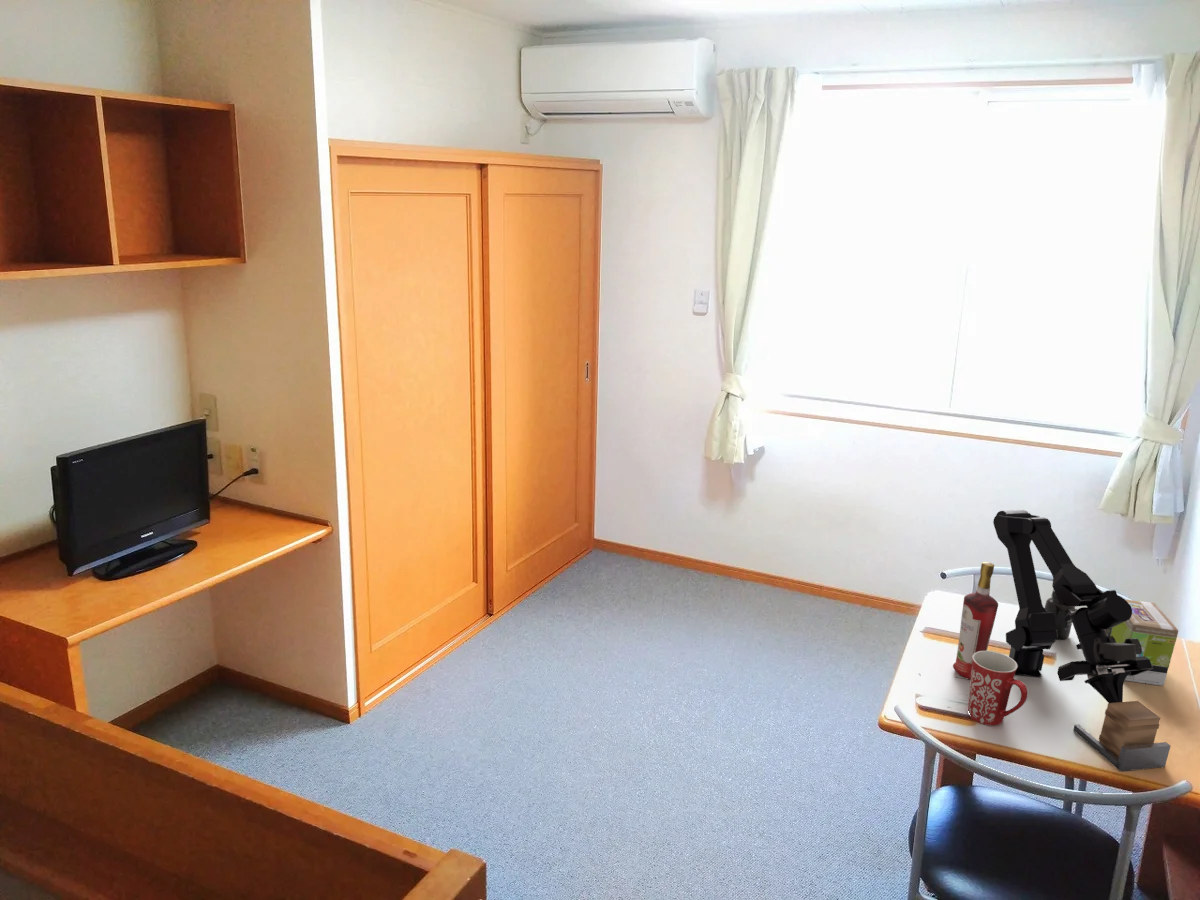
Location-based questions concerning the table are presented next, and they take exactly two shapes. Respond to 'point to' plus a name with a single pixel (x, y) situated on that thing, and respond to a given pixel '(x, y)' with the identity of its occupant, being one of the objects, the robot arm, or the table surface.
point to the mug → (992, 687)
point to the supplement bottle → (1059, 616)
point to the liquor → (976, 622)
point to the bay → (1130, 753)
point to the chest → (1128, 726)
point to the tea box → (1148, 639)
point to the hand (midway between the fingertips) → (1119, 710)
